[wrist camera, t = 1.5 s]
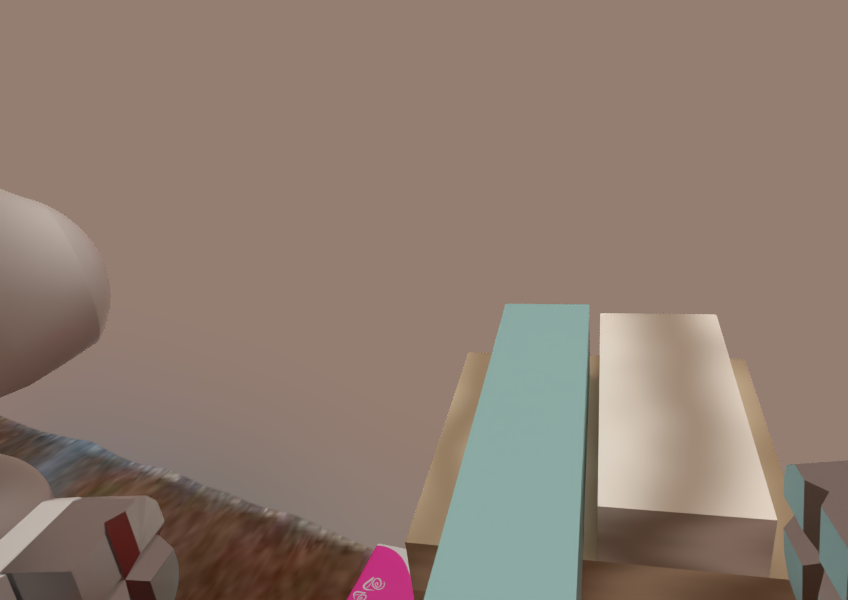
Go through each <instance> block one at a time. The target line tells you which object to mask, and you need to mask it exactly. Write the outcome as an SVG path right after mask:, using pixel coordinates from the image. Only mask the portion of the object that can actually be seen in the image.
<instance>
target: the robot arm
mask: <svg viewBox="0 0 848 600" xmlns="http://www.w3.org/2000/svg"><path fill="white" fill-rule="evenodd" d="M109 307H110V285H109V279H108V275H107V271H106V268H105V265H104V262H103V260H102V258H101V256H100V254H99V252H98V251H97V249H96V247H95V245H94V244H93V242H92V241H91V240H90V239H89V237H88V236H87V235H86V234H85V233H84V232H83V231H82V230H81V229H80V228H79V227H78V226H77V225H76V224H75V223H74V222H73V221H71V220H70V219H69V218H67V217H66V216H65V215H63V214H62V213H60V212H58V211H57V210H55V209H53V208H51V207H49V206H47V205H45V204H42V203H40V202H38V201H34V200H31V199H28V198H24V197H21V196H18V195H15V194H13V193H10V192H7V191H4V190H2V189H0V397H3V396H5V395H7V394H10V393H12V392H15V391H17V390H19V389H22V388H24V387H27V386H29V385H31V384H32V383H34V382H36V381H37V380H39V379H41V378H42V377H44V376H46V375H47V374H49V373H50V372H52V371H53V370H55V369H57V368H59V367H60V366H62V365H63V364H65V363H66V362H68V361H69V360H71V359H72V358H74V357H76V356H77V355H78V354H80V353H82V352H83V351H85V350H86V349H87V348H89V347H91V346H92V345H93V344H95V343H97V342H98V340H99V339H100V337H101V335H102V333H103V330H104V328H105V324H106V321H107V318H108V313H109ZM784 497H785V499H786V501H787V503H788V505H789V506H790V508H791V510H792V512H793V514H794V516H793V517H792V519H791V520H790V521H789V522H788V523H787V524H786V525H785V527H784V528H783V532H784V555H785V561H786V567H787V573H788V578H789V581H790V584H791V587H792V590H793V593H794V596H795V598H796V600H848V461H833V462H819V463H805V464H791V465H787V466H786V471H785V475H784ZM164 522H165V521H164V518H163V516H162V513H161V510H160V508H159V505H158V502H157V501H156V500H154V499H152V498H150V497H148V496H112V497H85V498H81V497H74V498H59V499H55V498H54V496H53V493H52V491H51V489H50V486H49V484H48V482H47V481H46V479H45V478H44V477H43V476H42V474H41V473H40V472H39V471H37V470H36V469H35V468H34V467H33V466H31V465H29V464H28V463H26V462H24V461H22V460H20V459H17V458H14V457H11V456H7V455H3V454H0V600H175V596H176V592H177V588H178V584H179V569H178V561H177V558H176V555H175V552H174V549H173V548H172V547H171V546H170V545H169V544H168V543H167V542H166V541H165V540H164V539H163V538H161V537H160V536H159V534H160V532H161V529H162V527H163V525H164Z"/></svg>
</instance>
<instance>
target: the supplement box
mask: <svg viewBox="0 0 848 600" xmlns="http://www.w3.org/2000/svg"><path fill="white" fill-rule="evenodd" d="M347 600H414V595H413V589H412V583H411V576H410V570H409V564H408V557H407V551H406V549H404V548H399V547H394V546H389V545H384V544H377V546H376V548H375V550H374V551H373V553H372V555H371V557H370V559H369V560H368V562H367V564H366V566H365V568H364V570H363V571H362V573H361V575H360V577H359V579H358V580H357V582H356V584H355V586H354V588H353V589H352V591H351V593H350V595H349V597H348V598H347Z"/></svg>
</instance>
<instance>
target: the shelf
mask: <svg viewBox="0 0 848 600" xmlns="http://www.w3.org/2000/svg"><path fill="white" fill-rule="evenodd" d="M491 355H492V353H482V352H481V353H479V352H469V353H468V356H467V359H466V362H465V365H464V368H463V371H462V374H461V377H460V380H459V383H458V386H457V389H456V392H455V395H454V398H453V401H452V404H451V407H450V410H449V413H448V416H447V419H446V422H445V425H444V428H443V431H442V434H441V437H440V440H439V443H438V446H437V449H436V452H435V455H434V458H433V461H432V464H431V467H430V470H429V473H428V476H427V479H426V482H425V485H424V487H423V490H422V493H421V497H420V499H419V502H418V505H417V508H416V512H415V515H414V517H413V520H412V523H411V526H410V530H409V533H408V536H407V538H406V541H405V544H406V551H407V557H408V564H409V570H410V576H411V583H412V589H413V595H414V600H424V597H425V593H426V589H427V586H428V582H429V579H430V575H431V571H432V568H433V564H434V561H435V557H436V553H437V550H438V546H439V543H440V539H441V535H442V532H443V528H444V525H445V521H446V517H447V514H448V510H449V507H450V503H451V499H452V496H453V492H454V488H455V485H456V481H457V478H458V474H459V470H460V467H461V463H462V460H463V456H464V452H465V449H466V445H467V442H468V438H469V434H470V431H471V427H472V424H473V420H474V416H475V413H476V409H477V406H478V402H479V398H480V395H481V391H482V388H483V384H484V380H485V377H486V373H487V369H488V366H489V362H490V359H491ZM793 516H794V514H793V512H792V510H791V508H790V506H789V505H788V503H787V501H786V499H785V497H784V475H783V472H782V470H781V466H780V463H779V460H778V457H777V454H776V452H775V448H774V445H773V442H772V440H771V436H770V434H769V431H768V428H767V425H766V422H765V419H764V416H763V413H762V410H761V407H760V404H759V401H758V398H757V395H756V392H755V389H754V386H753V383H752V380H751V377H750V374H749V371H748V368H747V365H746V362H745V359H729V356H728V352H727V349H726V346H725V342H724V339H723V335H722V332H721V329H720V326H719V322H718V319H717V315H708V314H706V315H704V314H621V313H619V314H618V313H600V356H598V355H594V356H593V355H590V378H589V405H588V432H587V459H586V486H585V513H584V540H583V566H582V593H581V600H796V598H795V596H794V593H793V590H792V587H791V584H790V581H789V578H788V573H787V567H786V561H785V555H784V532H783V528H784V527H785V525H786V524H787V523H788V522H789V521H790V520H791V519H792V517H793Z"/></svg>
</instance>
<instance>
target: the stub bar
mask: <svg viewBox="0 0 848 600" xmlns="http://www.w3.org/2000/svg"><path fill="white" fill-rule="evenodd" d="M589 343H590V339H589V305H581V304H576V305H575V304H572V305H571V304H569V305H568V304H506V305H505V308H504V312H503V315H502V319H501V323H500V327H499V330H498V333H497V337H496V341H495V344H494V348H493V352H492V355H491V359H490V362H489V366H488V369H487V373H486V377H485V380H484V384H483V388H482V391H481V395H480V398H479V402H478V406H477V409H476V413H475V416H474V420H473V424H472V427H471V431H470V434H469V438H468V442H467V445H466V449H465V452H464V456H463V460H462V463H461V467H460V470H459V474H458V478H457V481H456V485H455V488H454V492H453V496H452V499H451V503H450V507H449V510H448V514H447V517H446V521H445V525H444V528H443V532H442V535H441V539H440V543H439V546H438V550H437V553H436V557H435V561H434V564H433V568H432V571H431V575H430V579H429V582H428V586H427V589H426V593H425V597H424V600H581V593H582V566H583V540H584V513H585V486H586V459H587V432H588V405H589V378H590V352H589V346H590V345H589Z"/></svg>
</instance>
